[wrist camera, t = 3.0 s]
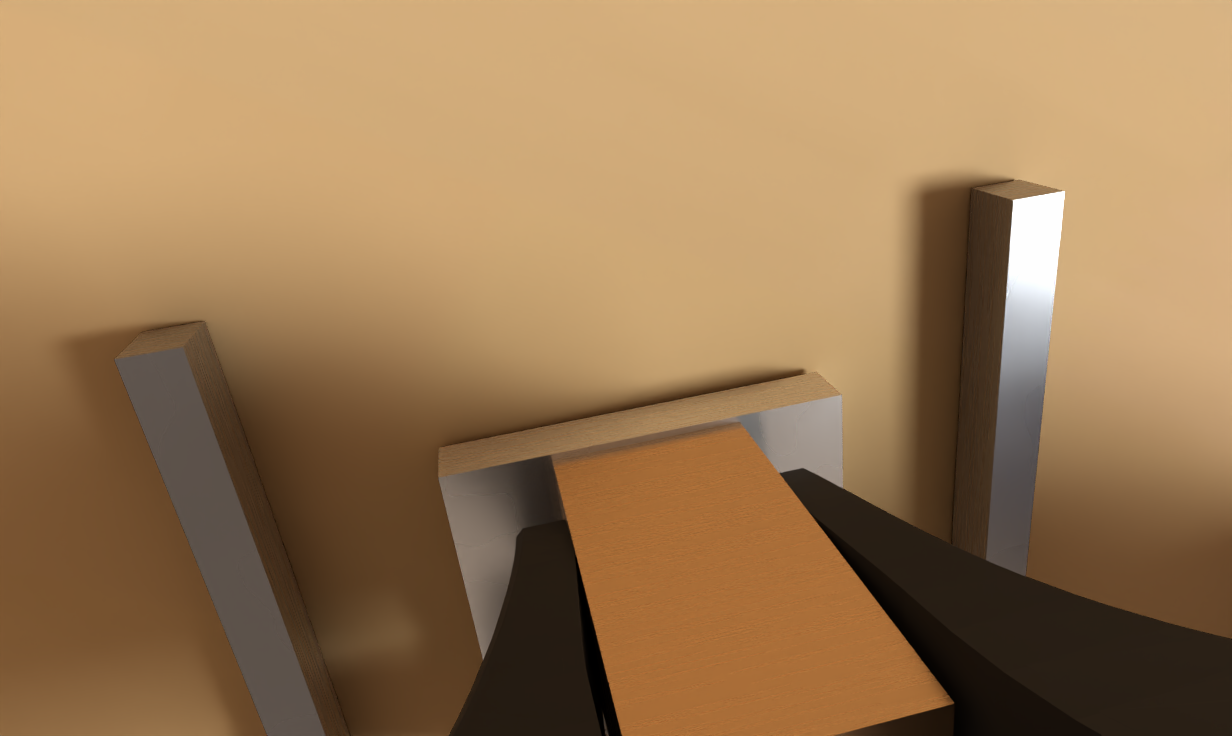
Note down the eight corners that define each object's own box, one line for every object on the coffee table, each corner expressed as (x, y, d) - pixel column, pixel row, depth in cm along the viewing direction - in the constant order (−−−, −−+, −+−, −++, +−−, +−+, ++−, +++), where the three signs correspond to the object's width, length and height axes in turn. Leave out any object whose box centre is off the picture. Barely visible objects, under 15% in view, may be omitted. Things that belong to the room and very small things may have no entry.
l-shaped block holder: (816, 371, 13) (1124, 650, 7) (824, 659, 15) (1056, 1044, 9) (438, 447, 12) (432, 832, 6) (508, 738, 14) (551, 1210, 9)
